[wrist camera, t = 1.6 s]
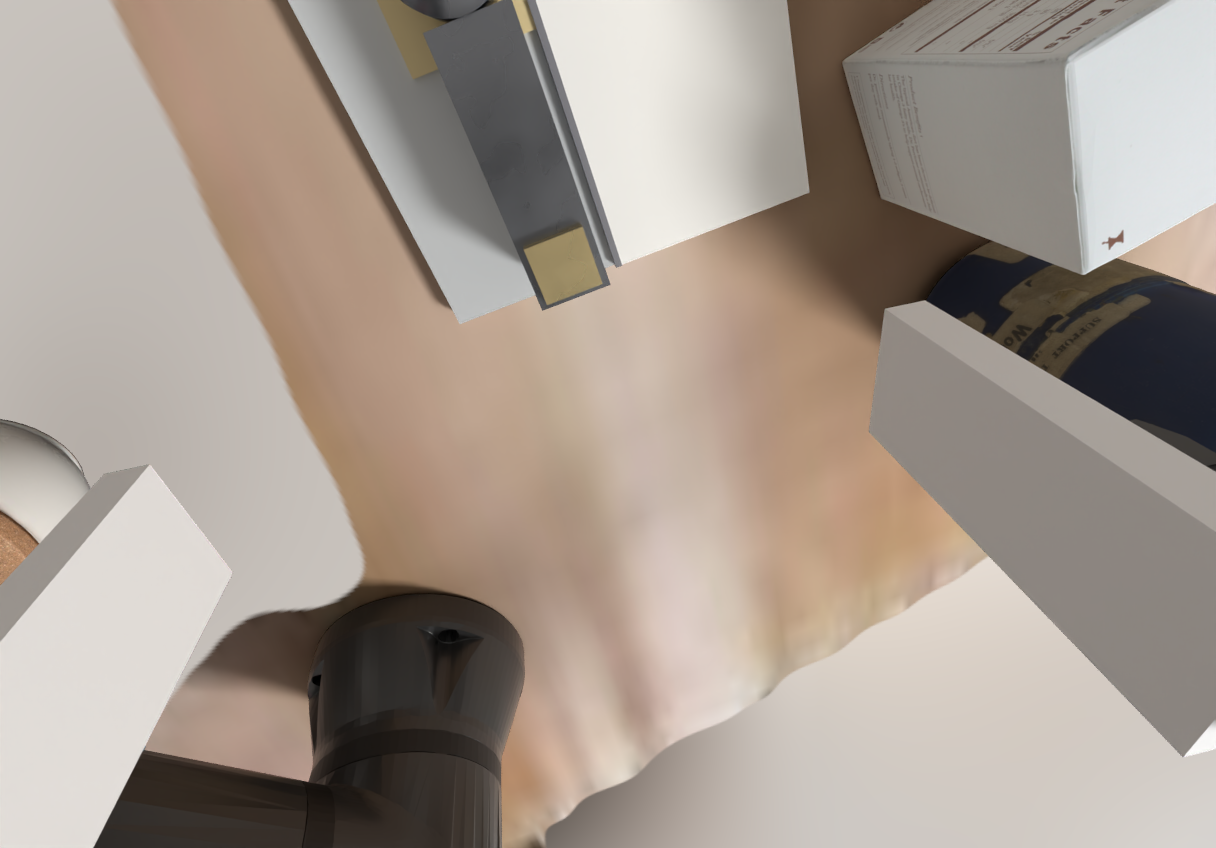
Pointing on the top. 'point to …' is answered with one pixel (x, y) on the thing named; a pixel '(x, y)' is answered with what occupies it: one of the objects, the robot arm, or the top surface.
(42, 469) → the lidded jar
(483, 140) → the arm
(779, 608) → the top surface
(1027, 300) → the canister
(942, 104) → the supplement box
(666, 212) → the door board
